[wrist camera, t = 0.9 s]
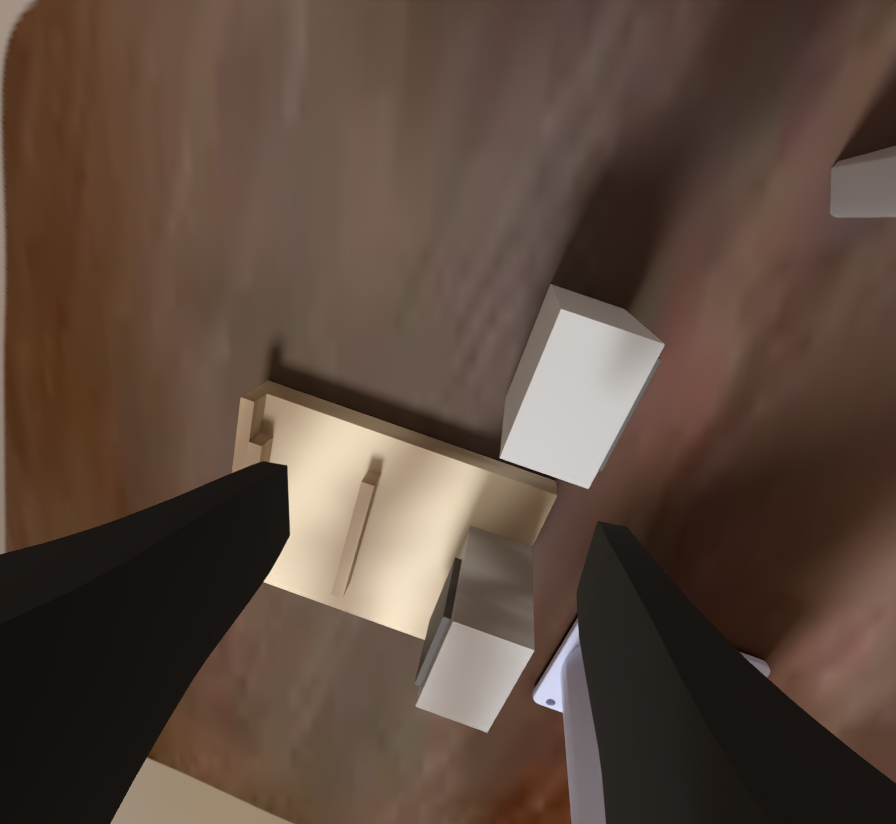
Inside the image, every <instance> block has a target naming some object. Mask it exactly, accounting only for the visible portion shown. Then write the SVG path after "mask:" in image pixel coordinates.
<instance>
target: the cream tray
mask: <svg viewBox="0 0 896 824" xmlns="http://www.w3.org/2000/svg"><path fill="white" fill-rule="evenodd" d="M262 461H266V462H271V463H277V464H282V465H287V467H288V493H289V519H290V537H289V539H288V540H287V542H286V544H285V546H284V548H283V550H282V552H281V554H280V556H279V557H278V559H277V561H276V563H275V564H274V566H273V568H272V570H271V571H270V573H269V574H268V576H267V577H266V579H265V580H264V582H265V583H268V584H271V585H273V586H276V587H279V588H282V589H284V590H287V591H290V592H293V593H296V594H298V595H301V596H304V597H307V598H310V599H312V600H315V601H318V602H321V603H323V604H326V605H329V606H332V607H335V608H337V609H340V610H343V611H346V612H348V613H351V614H354V615H357V616H360V617H362V618H365V619H368V620H371V621H374V622H376V623H379V624H382V625H385V626H387V627H390V628H393V629H396V630H399V631H401V632H404V633H407V634H410V635H412V636H415V637H418V638H421V639H424V640H425V642H424V646H423V650H422V654H421V658H420V663H419V667H418V671H417V675H416V680H415V685H418V686H420V688H419V693H418V697H417V702H416V707H418V708H421V709H424V710H427V711H429V712H432V713H435V714H438V715H440V716H443V717H446V718H449V719H451V720H454V721H457V722H460V723H462V724H465V725H468V726H471V727H473V728H476V729H479V730H482V731H484V732H488V730H489V729H490V727H491V725H492V723H493V722H494V720H495V718H496V716H497V715H498V713H499V711H500V710H501V708H502V706H503V704H504V703H505V701H506V699H507V697H508V696H509V694H510V692H511V690H512V689H513V687H514V685H515V683H516V682H517V680H518V678H519V676H520V675H521V673H522V671H523V669H524V668H525V666H526V664H527V662H528V661H529V659H530V657H531V655H532V654H533V652H534V614H533V573H532V546H533V544H534V542H535V540H536V538H537V536H538V534H539V532H540V530H541V528H542V526H543V524H544V522H545V520H546V518H547V516H548V514H549V512H550V509H551V507H552V505H553V503H554V501H555V499H556V497H557V487H556V481H554V480H552V479H549V478H546V477H543V476H540V475H537V474H534V473H532V472H529V471H526V470H523V469H520V468H517V467H514V466H512V465H509V464H506V463H503V462H500V461H497V460H494V459H492V458H489V457H486V456H483V455H480V454H477V453H474V452H472V451H469V450H466V449H463V448H460V447H457V446H454V445H451V444H449V443H446V442H443V441H440V440H437V439H434V438H431V437H429V436H426V435H423V434H420V433H417V432H414V431H411V430H409V429H406V428H403V427H400V426H397V425H394V424H391V423H389V422H386V421H383V420H380V419H377V418H374V417H371V416H369V415H366V414H363V413H360V412H357V411H354V410H351V409H349V408H346V407H343V406H340V405H337V404H334V403H331V402H329V401H326V400H323V399H320V398H317V397H314V396H311V395H309V394H306V393H303V392H300V391H297V390H294V389H291V388H289V387H286V386H283V385H280V384H277V383H274V382H271V381H269V380H268V381H266V382H264V383H263V384H261V385H260V386H258V387H256V388H255V389H253V390H252V391H250V392H248V393H247V394H245V395H243V396H242V397H241V400H240V408H239V417H238V425H237V434H236V442H235V451H234V459H233V468H232V473H233V472H236V471H238V470H240V469H243V468H245V467H248V466H250V465H253V464H256V463H259V462H262Z"/></svg>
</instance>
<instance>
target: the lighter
mask: <svg viewBox="0 0 896 824" xmlns="http://www.w3.org/2000/svg"><path fill="white" fill-rule="evenodd" d="M830 214H831V215H833V216H834V217H836V218H856V217H896V146H892V147H888V148H885V149H881V150H878V151H874V152H870V153H867V154H863V155H859V156H856V157H852V158H848V159H845V160H841V161H838V162H837V163H836V164H835V165H834V166H833V167H832V169H831V197H830Z"/></svg>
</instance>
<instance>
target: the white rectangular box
mask: <svg viewBox="0 0 896 824" xmlns="http://www.w3.org/2000/svg"><path fill="white" fill-rule="evenodd" d="M664 345H665V344H664V343H663V342H662V341H661V340H659V339H658V338H657V337H656V336H655V335H654V334H653V333H651V332H650V331H649V330H648V329H647V328H646V327H644V326H643V325H642V324H641V323H640V322H639V321H638V320H636V319H635V318H634V317H633V316H632V315H631V314H629V313H628V312H627V311H626V310H625V309H623V308H620V307H617V306H614V305H611V304H608V303H605V302H602V301H599V300H596V299H593V298H590V297H587V296H584V295H581V294H578V293H576V292H573V291H570V290H567V289H564V288H561V287H558V286H555V285H552V284H550V286H549V289H548V291H547V294H546V296H545V299H544V301H543V304H542V306H541V309H540V312H539V314H538V317H537V319H536V322H535V324H534V327H533V329H532V332H531V334H530V337H529V340H528V342H527V345H526V347H525V350H524V352H523V355H522V357H521V360H520V362H519V365H518V368H517V370H516V373H515V375H514V378H513V380H512V383H511V385H510V388H509V390H508V393H507V396H506V399H505V409H504V419H503V429H502V439H501V449H500V458H501V459H504V460H507V461H509V462H512V463H515V464H518V465H521V466H524V467H527V468H530V469H532V470H535V471H538V472H541V473H544V474H547V475H550V476H552V477H555V478H558V479H561V480H564V481H567V482H570V483H572V484H575V485H578V486H581V487H584V488H587V489H589V487H590V485H591V483H592V481H593V479H594V478H595V476H596V474H597V472H598V471H601V472H602V470H603V468H604V466H605V464H606V463H607V461H608V459H609V457H610V455H611V453H612V451H613V449H614V448H615V446H616V444H617V442H618V440H619V438H620V436H621V434H622V433H623V431H624V429H625V427H626V425H627V423H628V421H629V419H630V418H631V416H632V414H633V412H634V410H635V408H636V406H637V404H638V403H639V401H640V399H641V397H642V395H643V393H644V391H645V389H646V388H647V386H648V384H649V382H650V380H651V378H652V376H653V374H654V373H655V371H656V369H657V367H658V365H659V363H660V361H661V358H660V357H659V355H660V353H661V351H662V349H663V347H664Z"/></svg>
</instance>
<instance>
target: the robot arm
mask: <svg viewBox="0 0 896 824" xmlns="http://www.w3.org/2000/svg"><path fill="white" fill-rule="evenodd" d="M289 537H290V519H289V493H288V467H287V465H282V464H277V463H271V462H266V461H262V462H259V463H256V464H253V465H250V466H248V467H245V468H243V469H240V470H238V471H236V472H233V473H231V474H229V475H226V476H224V477H222V478H219V479H217V480H215V481H212V482H210V483H208V484H205V485H203V486H201V487H198V488H196V489H194V490H191V491H189V492H187V493H184V494H182V495H180V496H177V497H175V498H172V499H170V500H167V501H165V502H162V503H159V504H157V505H154V506H152V507H149V508H147V509H144V510H141V511H139V512H136V513H134V514H131V515H129V516H126V517H124V518H121V519H118V520H115V521H112V522H109V523H107V524H104V525H101V526H98V527H95V528H92V529H89V530H85V531H82V532H79V533H76V534H73V535H70V536H66V537H63V538H60V539H57V540H53V541H50V542H46V543H43V544H39V545H35V546H31V547H27V548H23V549H20V550H16V551H12V552H8V553H4V554H1V555H0V824H110V823H111V821H112V819H113V817H114V815H115V814H116V812H117V810H118V808H119V806H120V804H121V803H122V801H123V799H124V797H125V795H126V793H127V792H128V790H129V787H130V786H131V784H132V782H133V780H134V779H135V777H136V775H137V774H138V772H139V770H140V768H141V766H142V765H143V763H144V761H145V760H146V758H147V756H148V754H149V753H150V751H151V749H152V747H153V746H154V744H155V742H156V740H157V739H158V737H159V735H160V733H161V732H162V730H163V728H164V726H165V725H166V723H167V721H168V720H169V718H170V717H171V715H172V713H173V712H174V710H175V708H176V707H177V705H178V703H179V702H180V700H181V698H182V697H183V695H184V693H185V692H186V690H187V688H188V687H189V685H190V683H191V682H192V680H193V679H194V677H195V676H196V674H197V673H198V671H199V670H200V668H201V667H202V665H203V664H204V662H205V661H206V659H207V658H208V657H209V655H210V654H211V653H212V651H213V650H214V648H215V647H216V646H217V644H218V643H219V642H220V640H221V639H222V638H223V636H224V635H225V634H226V632H227V631H228V629H229V628H230V627H231V625H232V624H233V623H234V621H235V620H236V619H237V617H238V616H239V615H240V613H241V612H242V610H243V609H244V608H245V606H246V605H247V604H248V602H249V601H250V600H251V598H252V597H253V595H254V594H255V593H256V591H257V590H258V589H259V587H260V586H261V584H262V583H263V582H264V580H265V579H266V577H267V576H268V574H269V573H270V571H271V570H272V568H273V566H274V564H275V563H276V561H277V559H278V557H279V556H280V554H281V552H282V550H283V548H284V546H285V544H286V542H287V540H288V539H289ZM577 612H578V618H577V619H576V621H575V623H574V624H573V626H572V628H571V629H570V631H569V633H568V634H567V636H566V638H565V639H564V641H563V643H562V644H561V646H560V647H559V649H558V651H557V652H556V654H555V656H554V657H553V659H552V661H551V662H550V664H549V666H548V667H547V669H546V671H545V672H544V674H543V676H542V677H541V679H540V680H539V682H538V684H537V685H536V687H535V689H534V691H533V699H534V701H535V702H536V703H538V704H540V705H543V706H546V707H549V708H551V709H554V710H557V711H560V712H563V720H564V733H565V745H566V758H567V771H568V783H569V796H570V808H571V821H572V824H896V783H894V782H893V781H892V780H890V779H889V778H888V777H887V776H885V775H884V774H883V773H881V772H880V771H879V770H877V769H876V768H875V767H873V766H872V765H871V764H870V763H868V762H867V761H866V760H864V759H863V758H862V757H860V756H859V755H858V754H857V753H855V752H854V751H853V750H852V749H850V748H849V747H848V746H847V745H846V744H844V743H843V742H842V741H841V740H839V739H838V738H837V737H836V736H834V735H833V734H832V733H831V732H830V731H828V730H827V729H826V728H825V727H823V726H822V725H821V724H820V723H818V722H817V721H816V720H815V719H813V718H812V717H811V716H810V715H809V714H808V713H806V712H805V711H804V710H803V709H802V708H801V707H799V706H798V705H797V704H796V703H795V702H793V701H792V700H791V699H790V698H789V697H788V696H787V695H785V694H784V693H783V692H782V691H781V690H780V689H779V688H778V687H777V686H776V685H774V684H773V683H772V682H771V681H770V680H769V679H768V678H767V677H768V676H769V674H770V668H769V667H768V665H767V663H766V662H765V661H763V660H761V659H758V658H755V657H753V656H750V655H747V654H744V653H741V652H739V651H738V650H737V649H736V648H735V647H734V646H733V645H732V644H731V643H730V642H729V641H728V640H727V639H726V638H725V637H724V636H723V635H722V634H721V633H720V632H719V631H718V630H717V629H716V628H715V627H714V626H713V625H712V624H711V623H710V622H709V621H708V620H707V619H706V618H705V617H704V616H703V615H702V613H701V612H700V611H699V610H698V609H697V608H696V607H695V606H694V605H693V604H692V603H691V602H690V600H689V599H688V598H687V597H686V596H685V595H684V594H683V593H682V591H681V590H680V589H679V588H678V587H677V586H676V585H675V584H674V582H673V581H672V580H671V579H670V578H669V577H668V575H667V574H666V573H665V572H664V571H663V570H662V568H661V567H660V566H659V565H658V564H657V562H656V561H655V560H654V559H653V558H652V557H651V555H650V554H649V553H648V552H647V551H646V549H645V548H644V547H643V546H642V545H641V543H640V542H639V541H638V540H637V539H636V538H635V536H634V535H633V534H632V533H631V532H630V531H629V530H628V528H627V527H625V526H619V525H614V524H608V523H603V522H597V525H596V528H595V532H594V535H593V538H592V542H591V545H590V549H589V552H588V555H587V559H586V562H585V565H584V569H583V572H582V576H581V579H580V582H579V586H578V589H577Z"/></svg>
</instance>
